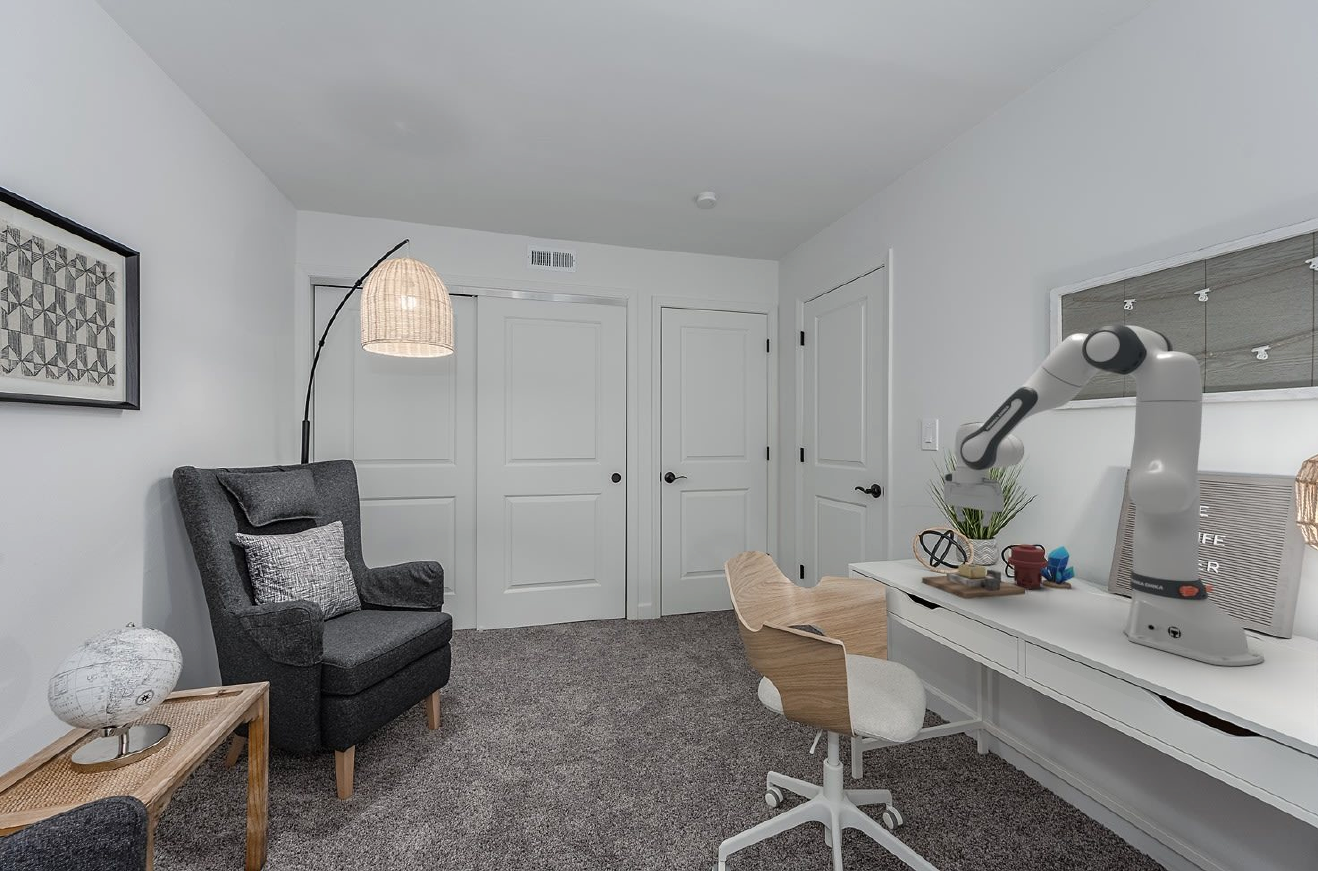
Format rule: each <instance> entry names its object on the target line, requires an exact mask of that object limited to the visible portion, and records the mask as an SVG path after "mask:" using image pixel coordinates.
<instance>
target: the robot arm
mask: <svg viewBox="0 0 1318 871" xmlns="http://www.w3.org/2000/svg"><path fill="white" fill-rule="evenodd" d="M1173 349H1174V348H1173V345H1172V342H1171V341H1170V338H1168V337H1167V336H1166V335H1165V334H1163V333H1162V332H1159V331H1157V330H1153V329H1147V328H1143V327H1141V326H1137V325H1131V324H1129V325H1128V324H1127V325H1124V324H1116V323H1115V324H1108V325H1103V326H1100V327H1098V328H1096V329H1094V330H1093V331H1092V332H1090V333H1089V334H1088V333H1073V334H1071V335H1069V336H1067V337H1066V338H1065V339H1064V340H1063V341H1061V343H1060V344H1058V345H1057V346H1056V347H1055V348H1054V349H1053V350H1052V351H1051V352H1050V354H1048V355H1047V356H1046V358H1045V359H1044V360H1043V361H1042V362H1041V364H1040V365H1039V366H1038V368H1037V369H1036V370H1035V371H1034V372H1033V374H1032V375H1030V377H1029V378H1028V379H1027V380H1026V381H1025V382H1024V383H1023V384H1022V385H1021V386H1020V387H1018V389H1016V390H1015V391H1014V392H1013V393H1012V394H1011V395H1010V396H1009V397H1008V398H1007V399H1006V400H1005V401H1004V402H1003V403H1002V404H1001V405H1000V406H999V407H998V408H997V409H996V411H995V412H994V413H992V415H991V416H990V417H989V418H988V419H987V420H986V422H982V421H981V422H980V421H978V422H977V421H976V422H968V423H964V424H961V425H960V426H958V428H957V430H956V434H955V440H954V442H955V443H954V444H955V445H954V446H955V448H954V450H955V451H954V452H955V456H956V462H955V470H953V471H951V472H947V473H945V474H944V475H943V481H944V482H945V483H944V484H943V501H944V503H945V505H946V506H953V510H954V513H955V515H956V520H957V522H963V523H964V522H966V515H964V513H963V511H962V510H964V508H965V509H970V510H971V509H972V510H978V511H982V514H983V515H984V516H983V519H980V525H981V526H982V527H990V525H991V523H990V522H991V519H992V517H993V516H994V513H1000V512H1003V511H1004V509H1005V498H1004V494H1003V493H1004V492H1003V489H1002V484H1001V483H1000V482H999V481H998V480H997V479H995V478H990V469H1000V468H1010V467H1013V466H1016V465H1018V464H1019V463H1020V462H1021V461H1022V459H1023V457H1024V456H1025V455H1024V453H1025V447H1024V443H1023V441H1022V440H1021V439H1020V437H1018V436H1016V435H1014V434H1011V433H1013V431H1014V430H1015V429H1016V428H1017V427H1018V426H1019V425H1020V424H1021V423H1022V422H1023V421H1025V420H1026V419H1028V418H1029V417H1031V416H1034V415H1037V414H1038V413H1042V412H1044V411H1049V410H1054V409H1057V408H1060V407H1063V406H1065V405H1066V404H1068V403H1069V402H1070V401H1072V400H1073V399H1074V398H1075V397H1076V396H1077V395H1078V394H1079V393H1080V392H1081V391H1082V390H1083V389H1084V388H1085V386H1086V385H1087V384H1088V382H1089V381H1090V380H1091V379H1092V378H1093V377H1094V376H1095V375H1096V374H1097V373H1098V372H1100V371H1103V372H1107V373H1108V372H1109V373H1113V374H1118V375H1122V376H1127V375H1129V376H1131V377H1132V378H1133V379H1134V381H1135V384H1136V395H1135V396H1136V398H1135V417H1134V419H1135V420H1134V436H1133V437H1134V438H1133V445H1132V452H1131V459H1130V465H1129V466H1130V468H1129V476H1128V477H1129V478H1128V487H1127V488H1128V495H1129V498H1130V499H1131V501H1132V503H1133V504H1134V505H1135V512H1134V513H1135V514H1134V516H1135V518H1134V527H1133V534H1132V570H1131V571H1130V582H1129V583H1130V584H1129V586H1130V589H1131V603H1130V608H1129V613H1128V618H1127V620H1126V625H1125V627H1124V629H1123V632H1124V634H1126V635H1127V636H1128V641H1130V642H1132V643H1136V644H1138V645H1143V646H1147V647H1151V648H1153V649H1156V650H1160V651H1164V652H1166V653H1167V652H1168V653H1172V654H1175V655H1178V656H1181V657H1186V658H1187V659H1188V658H1189V659H1192V660H1197V661H1200V662H1204V663H1207V664H1209V665H1210V664H1211V665H1216V666H1230V667H1231V666H1232V667H1233V666H1234V667H1236V666H1237V667H1238V666H1240V667H1241V666H1249V665H1256V664H1260V663H1263V662H1264V660H1265V659H1264V654H1263V653H1261V652H1258V651H1256V650H1254V649H1250V648H1249V646H1248V639H1247V636H1246V632H1245V629H1244V627H1243V626H1242V624H1241V623H1240V622H1238V621H1236V620H1235V618H1233V617H1231V616H1230V615H1229V614H1227V612H1225V611H1224V610H1223V609H1221V607H1219V605H1217V604H1215V603H1214V602H1213V601H1212V600H1211V599H1209V593H1208V592H1214V590H1213V589H1212V588H1214V585H1205V584H1204V583H1203V581H1202V579H1201V578H1200V577H1199V576H1200V575H1199V574H1200V573H1199V572H1200V571H1199V570H1200V566H1199V565H1200V563H1199V560H1200V559H1199V558H1200V557H1199V553H1200V552H1199V550H1200V548H1199V544H1200V541H1199V540H1200V524H1201V522H1200V520H1201V519H1200V518H1201V488H1202V487H1201V482H1200V480H1199V478H1198V470H1199V469H1198V468H1199V456H1200V446H1201V439H1202V418H1203V416H1202V414H1203V382H1202V375H1201V370H1200V365H1199V364H1200V363H1199V361H1198V360H1197V359H1196V357H1194V356H1193V355H1192V354H1189V353H1187V352H1182V351H1174V350H1173Z"/></svg>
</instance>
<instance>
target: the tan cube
mask: <svg viewBox="0 0 1318 871" xmlns="http://www.w3.org/2000/svg"><path fill="white" fill-rule="evenodd" d="M957 570H958V572H959V576H962V577H965V578H968V579H984V578H986V575H987V571H986V567H985V566H981V565H978V564H974V563H965V564H964V563H962V564H958V569H957Z"/></svg>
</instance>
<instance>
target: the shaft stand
mask: <svg viewBox="0 0 1318 871" xmlns="http://www.w3.org/2000/svg"><path fill="white" fill-rule="evenodd" d="M921 582H922V583H923V584H926V585H929V586H931V587H934V588H936V589H939V590H941V589H942V590H941V591H944V592H947V593H950V594H952V595H955V596H958V597H960V598H963V599H965V598H967V599H974V598H973V597H979V598H987V597H1000V596H1001V597H1002V596H1014V595H1015V596H1016V595H1025V594H1026V589H1025V588H1024V587H1023V586H1020V585H1017V584H1016V585H1015V584H1013V583H1009V582H1005V581H1002V572H1001V571H998V570H993V569H987V570H986V578H984V579H968V578H965V577H962V576H959V571H958V572H946V575H939V576H925V577H924V576H923V577H921Z"/></svg>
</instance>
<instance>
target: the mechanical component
mask: <svg viewBox="0 0 1318 871" xmlns="http://www.w3.org/2000/svg"><path fill="white" fill-rule="evenodd" d="M1010 553H1011V554H1010V555H1011V556H1008V558H1007V560H1008V561H1007V562H1008V564H1009V565H1012V566H1013V580H1014V582H1016V586H1019V587H1022V588H1025V590H1031V589H1034V588H1035V589H1036V588H1037V589H1038V588H1040V587H1041V584H1042V581H1043V576H1042V568H1046V569H1047V568H1048V560H1046V559H1045V550H1044V549H1042V548H1039V547H1037V546H1036V545H1033V544H1026V543H1023V544H1020V545H1019V546H1012V547H1011V552H1010Z"/></svg>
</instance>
